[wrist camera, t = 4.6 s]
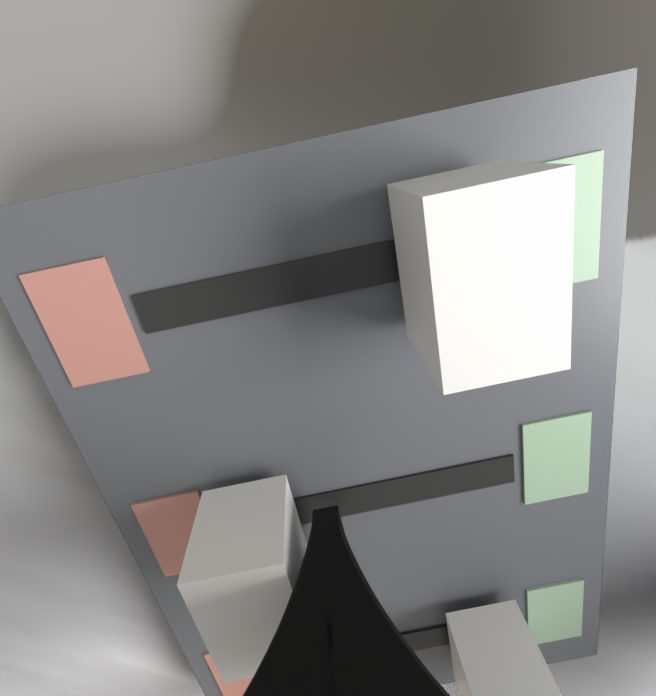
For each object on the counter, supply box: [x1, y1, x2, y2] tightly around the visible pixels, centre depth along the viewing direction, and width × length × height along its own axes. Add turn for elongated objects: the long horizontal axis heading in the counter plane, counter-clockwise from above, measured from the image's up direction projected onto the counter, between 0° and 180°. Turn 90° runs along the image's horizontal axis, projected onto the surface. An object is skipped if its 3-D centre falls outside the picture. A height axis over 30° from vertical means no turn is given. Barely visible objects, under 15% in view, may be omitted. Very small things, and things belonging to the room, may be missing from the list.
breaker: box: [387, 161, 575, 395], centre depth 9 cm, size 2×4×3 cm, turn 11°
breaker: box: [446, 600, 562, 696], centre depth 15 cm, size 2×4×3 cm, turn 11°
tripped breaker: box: [177, 475, 307, 683], centre depth 12 cm, size 2×4×3 cm, turn 11°
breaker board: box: [0, 68, 637, 696], centre depth 15 cm, size 15×20×2 cm
